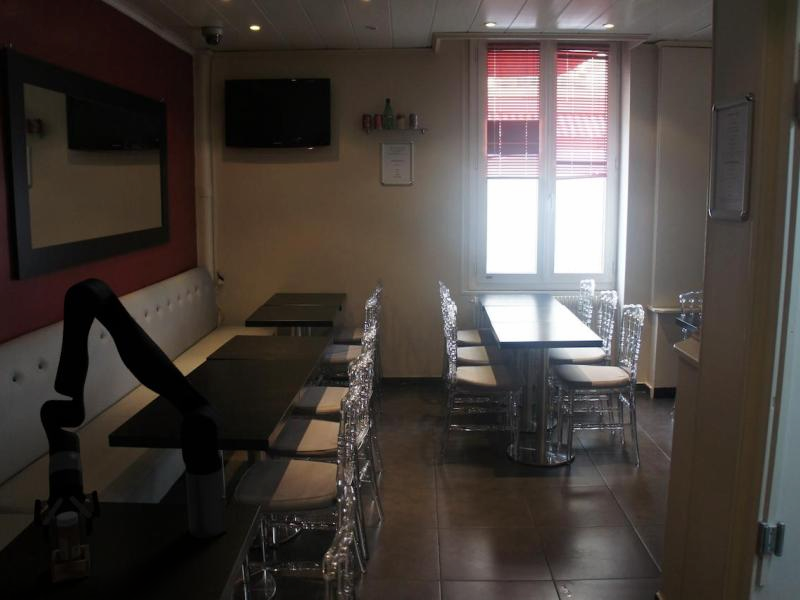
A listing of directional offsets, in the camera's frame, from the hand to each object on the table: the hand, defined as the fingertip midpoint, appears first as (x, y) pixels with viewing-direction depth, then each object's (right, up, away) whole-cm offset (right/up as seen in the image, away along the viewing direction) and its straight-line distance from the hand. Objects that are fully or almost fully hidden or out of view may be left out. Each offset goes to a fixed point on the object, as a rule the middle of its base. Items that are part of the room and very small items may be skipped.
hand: (68, 539), depth 175 cm
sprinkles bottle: (0, -8, +2) cm, 8 cm away
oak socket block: (0, -8, +2) cm, 9 cm away
